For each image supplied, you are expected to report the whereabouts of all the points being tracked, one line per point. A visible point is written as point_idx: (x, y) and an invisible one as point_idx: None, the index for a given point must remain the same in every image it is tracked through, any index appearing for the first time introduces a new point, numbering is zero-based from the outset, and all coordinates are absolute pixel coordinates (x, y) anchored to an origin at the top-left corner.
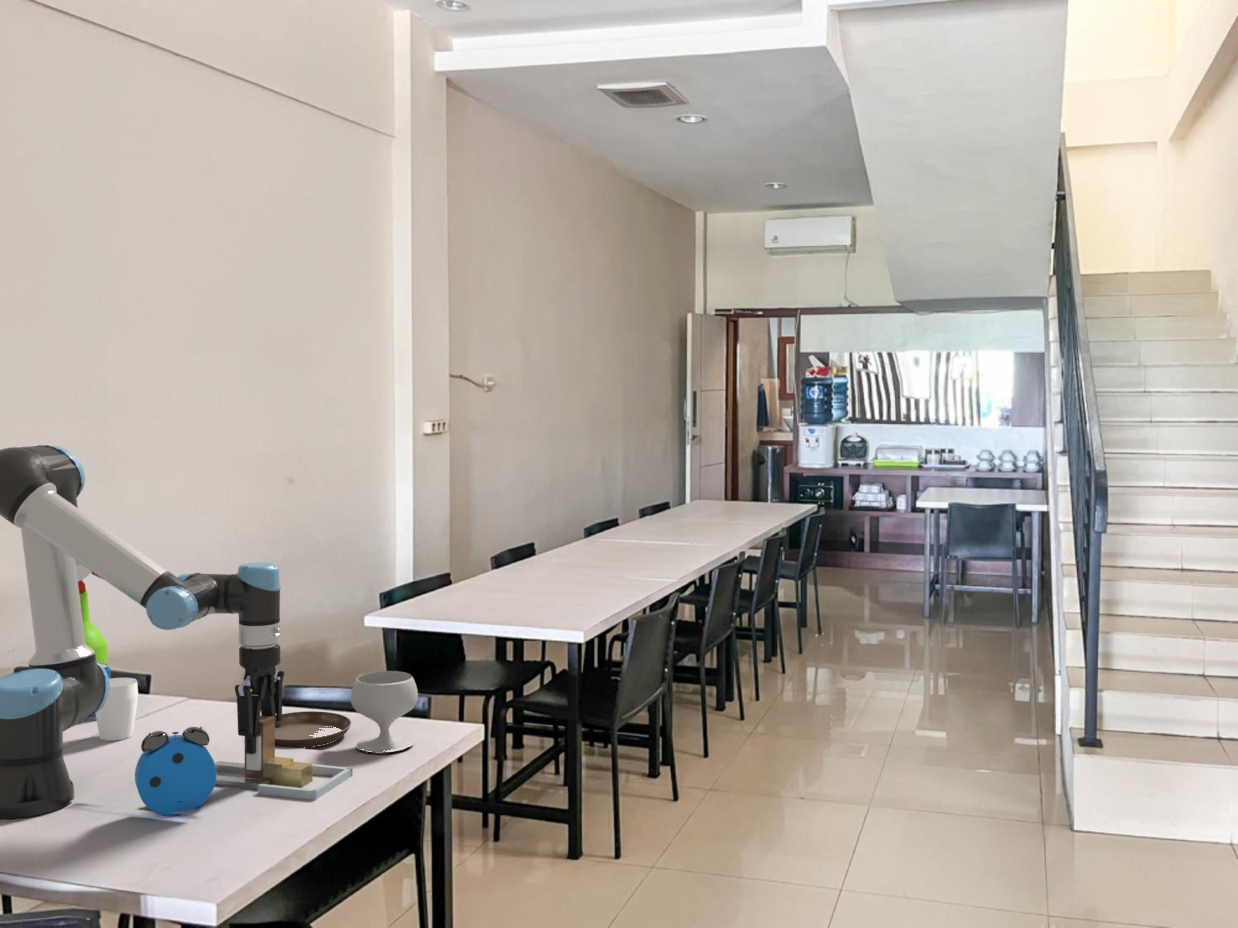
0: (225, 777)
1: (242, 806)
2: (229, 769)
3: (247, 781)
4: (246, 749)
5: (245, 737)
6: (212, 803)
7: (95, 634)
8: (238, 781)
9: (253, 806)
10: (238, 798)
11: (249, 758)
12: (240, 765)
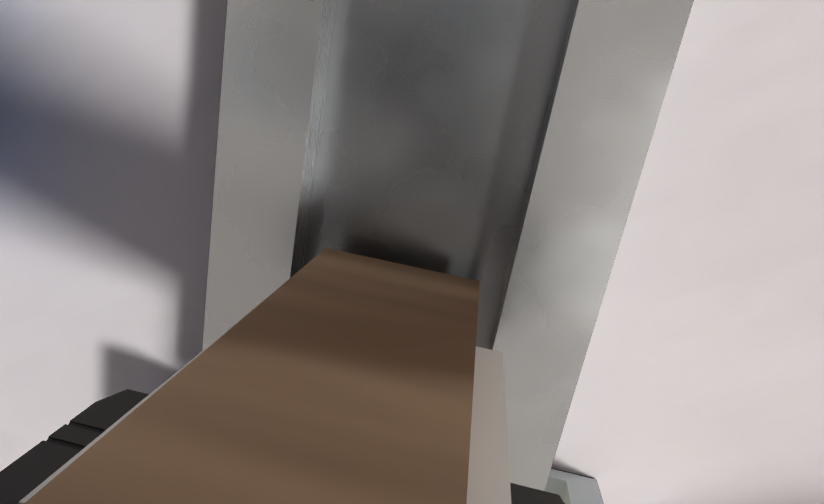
0: (283, 111)
1: (55, 332)
2: (571, 16)
3: (233, 303)
4: (82, 417)
5: (126, 431)
6: (48, 150)
7: None
8: (219, 244)
9: (70, 384)
10: (154, 268)
11: None
12: (595, 107)
